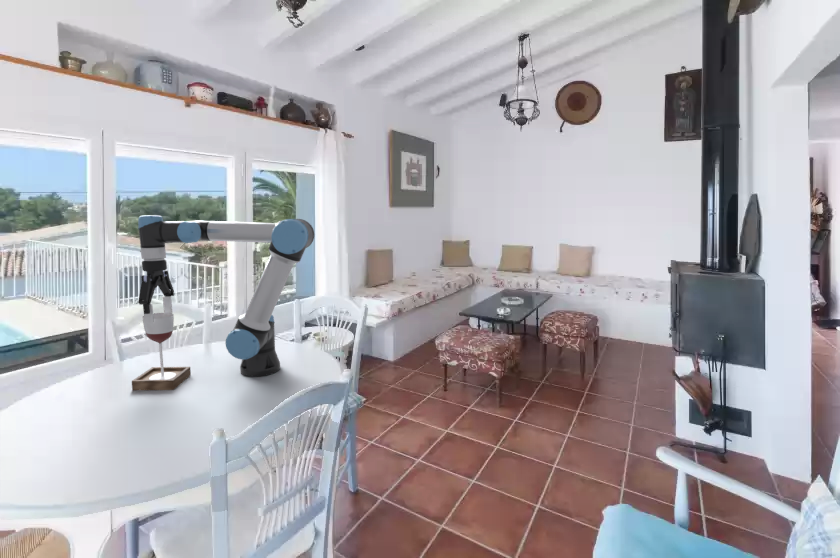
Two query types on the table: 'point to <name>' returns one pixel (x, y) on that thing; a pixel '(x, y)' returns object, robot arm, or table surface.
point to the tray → (170, 384)
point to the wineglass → (160, 338)
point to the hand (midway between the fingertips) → (159, 317)
